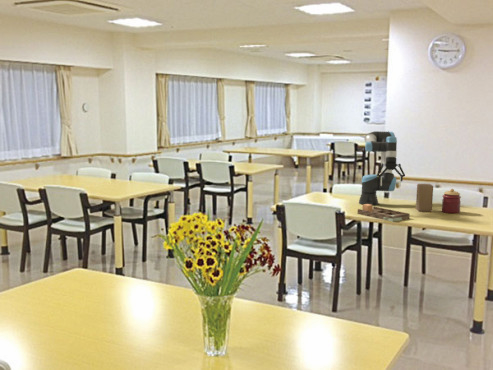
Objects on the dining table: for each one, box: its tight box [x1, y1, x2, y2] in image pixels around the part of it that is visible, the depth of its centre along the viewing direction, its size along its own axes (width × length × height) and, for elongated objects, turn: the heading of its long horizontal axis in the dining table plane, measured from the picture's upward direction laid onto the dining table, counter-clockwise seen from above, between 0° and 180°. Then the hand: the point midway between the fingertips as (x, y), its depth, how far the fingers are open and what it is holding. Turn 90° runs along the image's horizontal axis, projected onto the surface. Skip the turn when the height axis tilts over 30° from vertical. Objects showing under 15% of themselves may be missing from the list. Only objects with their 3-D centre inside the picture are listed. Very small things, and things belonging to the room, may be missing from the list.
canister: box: [441, 188, 462, 214], centre depth 395 cm, size 13×13×18 cm
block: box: [415, 183, 434, 213], centre depth 400 cm, size 10×10×20 cm
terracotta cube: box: [362, 204, 374, 212], centre depth 386 cm, size 5×5×5 cm
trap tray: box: [357, 206, 410, 223], centre depth 380 cm, size 32×18×4 cm, turn 36°
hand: (390, 185), depth 392 cm, fingers open, 13 cm apart
